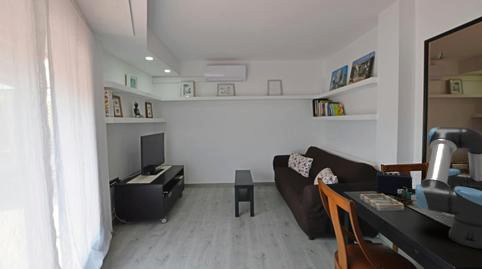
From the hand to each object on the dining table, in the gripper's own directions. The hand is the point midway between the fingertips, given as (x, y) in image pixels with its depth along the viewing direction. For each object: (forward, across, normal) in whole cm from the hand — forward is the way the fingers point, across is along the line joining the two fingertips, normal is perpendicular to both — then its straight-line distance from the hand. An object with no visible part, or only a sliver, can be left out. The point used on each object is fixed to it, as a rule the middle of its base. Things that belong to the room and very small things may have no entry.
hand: (404, 194), depth 162 cm
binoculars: (+1, 0, -6) cm, 6 cm away
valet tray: (+16, 0, -6) cm, 17 cm away
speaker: (-6, +22, -6) cm, 23 cm away
